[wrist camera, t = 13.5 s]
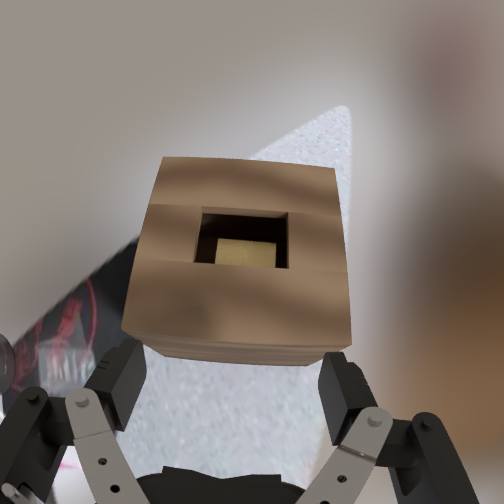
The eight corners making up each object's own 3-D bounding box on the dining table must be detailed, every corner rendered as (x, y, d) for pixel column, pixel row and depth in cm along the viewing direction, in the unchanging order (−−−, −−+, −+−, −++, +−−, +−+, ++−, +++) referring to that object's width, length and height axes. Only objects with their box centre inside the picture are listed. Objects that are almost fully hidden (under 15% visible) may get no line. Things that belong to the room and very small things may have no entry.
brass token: (264, 306, 34) (275, 270, 25) (220, 302, 34) (214, 265, 25) (265, 284, 35) (276, 243, 26) (222, 281, 35) (218, 238, 26)
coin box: (307, 366, 32) (351, 344, 19) (164, 356, 31) (120, 329, 19) (305, 241, 39) (334, 168, 27) (182, 232, 39) (163, 156, 26)
